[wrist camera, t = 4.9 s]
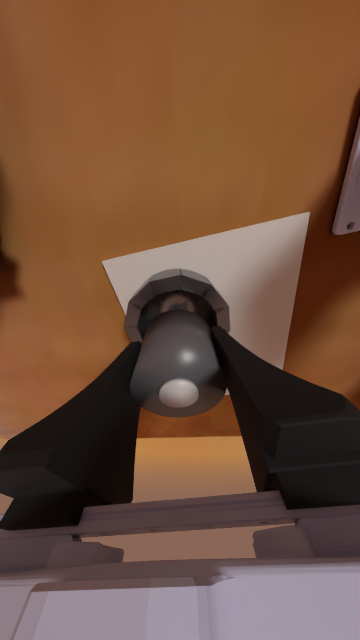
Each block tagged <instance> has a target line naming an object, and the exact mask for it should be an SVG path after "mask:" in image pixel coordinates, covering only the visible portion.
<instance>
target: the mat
mask: <svg viewBox="0 0 360 640" xmlns="http://www.w3.org/2000/svg"><path fill="white" fill-rule="evenodd" d="M309 215H310V212H306V213H301V214H297V215H293V216H289V217H285V218H280V219H276V220H272V221H268V222H264V223H259V224H255V225H251V226H247V227H243V228H238V229H234V230H230V231H226V232H222V233H217V234H213V235H209V236H205V237H201V238H196V239H192V240H188V241H184V242H180V243H175V244H171V245H167V246H163V247H159V248H154V249H150V250H146V251H142V252H138V253H133V254H129V255H125V256H121V257H117V258H113V259H108V260H104V261H102V263H103V266H104V268H105V270H106V272H107V275H108V277H109V279H110V281H111V284H112V286H113V288H114V290H115V293H116V295H117V297H118V299H119V302H120V304H121V306H122V308H123V311H124V313H125V315H126V313H127V307H128V302H129V300H130V299H131V297H132V296H133V294H134V293H135V292H136V291H137V290H138V289H139V288H140V287H141V285H142V284H143V283H144V282H145V281H146V280H147V279H148V278H150V277H151V276H152V275H153V274H157V273H159V272H161V271H164V270H169V269H187V270H191V271H194V272H197V273H199V274H201V275H202V276H205V277H207V278H208V279H209V280H210V282H211V283H212V284H213V285H214V286H215V288H216V289H217V290H218V292H219V293H220V294H221V295H222V297H223V298H224V300H225V301H226V302H227V304H228V305H229V315H230V332H229V333H228V334H229V335H230V336H232V337H233V338H234V339H235V340H236V341H237V342H239V343H240V344H241V345H242V346H244V347H245V348H246V349H248V350H249V351H251V352H252V353H254V354H255V355H257V356H258V357H260V358H261V359H263V360H265V361H266V362H268V363H270V364H272V365H274V366H276V367H278V368H279V369H281V370H283V364H284V358H285V353H286V347H287V341H288V335H289V330H290V324H291V318H292V312H293V307H294V301H295V295H296V290H297V284H298V278H299V272H300V267H301V261H302V255H303V249H304V244H305V238H306V232H307V227H308V221H309ZM225 395H230V394H229V391H228V389H227V390H226V393H225Z"/></svg>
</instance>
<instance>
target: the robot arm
mask: <svg viewBox="0 0 360 640" xmlns="http://www.w3.org/2000/svg"><path fill="white" fill-rule="evenodd" d="M349 223H350V225H349V227H348V228H347V225H348V224H349ZM356 231H360V118H359V122H358V126H357V130H356V134H355V138H354V142H353V147H352V151H351V155H350V159H349V163H348V167H347V171H346V175H345V179H344V183H343V187H342V191H341V195H340V199H339V204H338V208H337V212H336V216H335V220H334V224H333V228H332V233H333V234H334V235H342V234H347V233H351V232H356ZM211 331H212V338H213V341H214V344H215V347H216V350H217V353H218V356H219V360H220V363H221V366H222V369H223V372H224V375H225V378H226V381H227V389H228V391H229V394H230V397H231V400H232V403H233V407H234V410H235V413H236V417H237V420H238V424H239V427H240V431H241V435H242V438H243V442H244V445H245V449H246V452H247V456H248V460H249V464H250V467H251V471H252V475H253V479H254V482H255V486H256V490H257V492H255V493H244V494H233V495H221V496H209V497H198V498H186V499H176V500H162V501H152V502H140V503H131V502H132V500H133V482H134V462H135V449H136V439H137V428H138V420H139V412H140V407H141V406H140V405H139V404H138V403H137V402H136V401H135V400H134V398H133V396H132V394H131V391H130V383H131V379H132V375H133V372H134V369H135V365H136V362H137V359H138V356H139V352H140V349H141V346H142V345H141V343H140V341H135V342H131V343H130V344H129V345H128V346H127V347H126V348H125V349H124V350H123V352H122V353H121V354H120V355H119V356H118V357H117V358H116V359H115V360H114V361H113V362H112V363H111V364H110V365H109V366H108V367H107V368H106V369H105V370H104V371H103V372H102V373H101V374H100V375H99V376H98V377H97V378H96V379H95V380H94V381H93V382H92V383H91V384H89V385H88V386H87V387H86V388H85V389H84V390H82V391H81V392H80V393H78V394H77V395H76V396H75V397H73V398H72V399H71V400H69V401H68V402H67V403H65V404H64V405H63V406H61V407H60V408H58V409H57V410H56V411H54V412H53V413H51V414H50V415H48V416H47V417H45V418H44V419H42V420H41V421H39V422H38V423H36V424H34V425H33V426H31V427H30V428H28V429H26V430H25V431H23V432H21V433H20V434H18V435H17V436H15V437H13V438H11V439H10V440H8V441H7V443H6V444H5V445H4V446H3V448H2V449H1V450H0V493H1V494H4V495H6V496H10V497H12V498H14V500H13V501H12V503H11V505H10V506H9V508H8V510H7V511H6V513H5V514H0V640H360V411H359V410H358V409H357V408H356V407H355V406H354V405H353V404H352V403H351V402H350V401H349V400H348V399H346V398H345V397H344V396H343V395H342V394H339V393H336V392H334V391H331V390H328V389H326V388H323V387H320V386H318V385H315V384H312V383H310V382H308V381H305V380H303V379H301V378H298V377H296V376H294V375H292V374H290V373H287V372H285V371H283V370H281V369H279V368H278V367H276V366H274V365H272V364H270V363H268V362H266V361H265V360H263V359H261V358H260V357H258V356H257V355H255V354H254V353H252V352H251V351H249V350H248V349H246V348H245V347H244V346H242V345H241V344H240V343H239V342H237V341H236V340H235V339H234V338H233V337H232V336H230V335H229V334H228V333H227V332H226V331H225V330H224V329H223V328H222V327H221V326H217V327H211ZM292 523H295V525H289V526H280V527H275V528H270V529H265V530H260V531H255V532H254V533H253V539H254V542H253V547H254V550H255V555H256V558H240V559H239V558H238V559H193V560H192V559H190V560H160V561H140V562H139V561H138V562H122V561H123V555H124V551H123V549H120V548H113V547H109V546H105V545H103V544H100V543H99V542H82V540H81V538H83V537H98V536H113V535H128V534H141V533H142V534H143V533H156V532H157V533H158V532H173V531H187V530H202V529H216V528H232V527H247V526H262V525H276V524H292Z"/></svg>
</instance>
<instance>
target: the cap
mask: <svg viewBox="0 0 360 640" xmlns="http://www.w3.org/2000/svg"><path fill="white" fill-rule="evenodd" d="M226 390H227V381H226V378H225V375H224V372H223V369H222V366H221V363H220V360H219V356H218V353H217V350H216V347H215V344H214V341H213V338H212V335H211V332H210V329H209V326H208V325H207V323H206V322H205V320H204V319H203V318H202V317H200V316H199V315H197V314H195V313H193V312H191V311H187V310H177V309H176V310H169V311H166V312H163V313H161V314H159V315H158V316H156V317H155V318H154V319H153V320H152V321H151V322H150V323H149V325H148V327H147V329H146V333H145V336H144V339H143V343H142V346H141V349H140V352H139V356H138V359H137V362H136V365H135V369H134V372H133V375H132V379H131V383H130V391H131V394H132V396H133V398H134V400H135V401H136V402H137V403H138V404H139V405H140V406H141V407H143V408H144V409H146V410H148V411H150V412H152V413H155V414H158V415H162V416H168V417H187V416H193V415H197V414H200V413H203V412H206V411H208V410H210V409H211V408H213V407H214V406H216V405H217V404H218V403H219V402H220V401H221V400H222V398H223V397H224V395H225V393H226Z"/></svg>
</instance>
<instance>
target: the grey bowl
mask: <svg viewBox="0 0 360 640" xmlns="http://www.w3.org/2000/svg"><path fill="white" fill-rule="evenodd" d="M176 309H177V310H187V311H191V312H193V313H195V314H197V315H199V316H200V317H202V318H203V319H204V320H205V322H206V323H207V325H208V326H209V329H210V332H211V335H212V331H211V327H217V326H221V327H222V328H223V329H224V330H225V331H226V332H227V333H229V332H230V315H229V305H228V304H227V302H226V301H225V300H224V298H223V297H222V295H221V294H220V293H219V292H218V290H217V289H216V288H215V286H214V285H213V284H212V283H211V282H210V280H209V279H208V278H207V277H205V276H202V275H201V274H199V273H197V272H194V271H191V270H187V269H169V270H164V271H161V272H159V273H157V274H153V275H152V276H151V277H150V278H148V279H147V280H146V281H145V282H144V283H143V284H142V285H141V287H140V288H139V289H138V290H137V291H136V292H135V293H134V294H133V296H132V297H131V299H130V300H129V302H128V307H127V313H126V318H125V324H124V327H125V329H126V332H127V334H128V336H129V338H130V340H131V342H135V341H140V343H141V345H142V343H143V339H144V336H145V333H146V329H147V327H148V325H149V323H150V322H151V321H152V320H153V319H154V318H155V317H156V316H158V315H159V314H161V313H163V312H166V311H169V310H176Z"/></svg>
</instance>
